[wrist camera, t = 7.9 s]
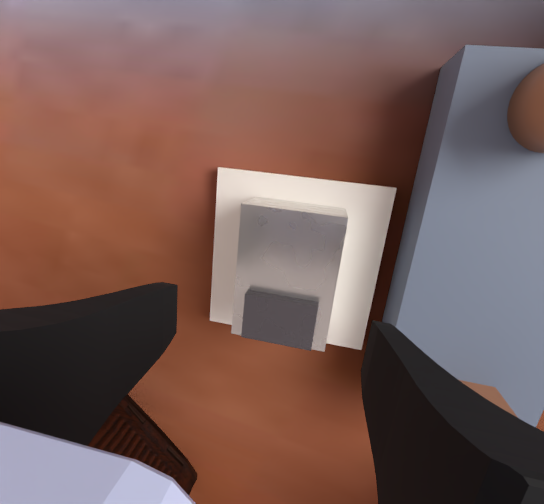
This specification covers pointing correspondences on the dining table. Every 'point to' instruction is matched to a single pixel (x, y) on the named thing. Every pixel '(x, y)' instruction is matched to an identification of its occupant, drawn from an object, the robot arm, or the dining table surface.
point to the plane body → (480, 230)
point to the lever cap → (287, 271)
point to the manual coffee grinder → (143, 443)
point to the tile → (356, 250)
